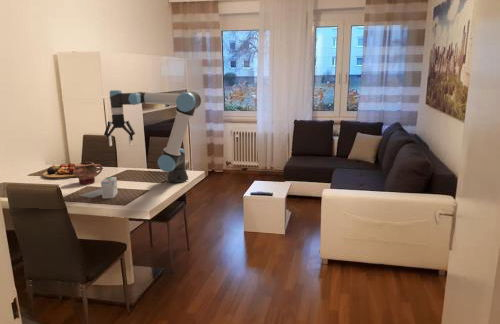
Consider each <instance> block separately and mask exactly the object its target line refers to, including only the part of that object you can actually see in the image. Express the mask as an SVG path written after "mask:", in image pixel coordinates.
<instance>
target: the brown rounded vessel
mask: <svg viewBox="0 0 500 324" xmlns="http://www.w3.org/2000/svg"><path fill="white" fill-rule="evenodd" d="M97 168H100V170H99V171H98V169H97ZM97 171H98V172H97ZM102 171H103V166H102V165H101V164H99V163H98V164H97V163H96V164H95V163H94V162H90V161H89V162H85V161H84V162H81V163H78V164H75V169H74V171H73V174H74V175H75V176H77V177H76V178H78V183H79V184H80V185H90V184H94V183H95V181H96V180H95V179H96V178H95V177H98V176H99V175H100V174H101V172H102Z"/></svg>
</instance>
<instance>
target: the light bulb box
mask: <svg viewBox="0 0 500 324" xmlns="http://www.w3.org/2000/svg"><path fill="white" fill-rule="evenodd" d="M100 185H101V186H100V187H101V188H102V195H101V197H102V199H114V198H115V197H116V196H117V194H118V193H119V192H118V182H117V176H108V177H104V179H102V180H101V181H100ZM101 188H100V189H101Z"/></svg>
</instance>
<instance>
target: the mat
mask: <svg viewBox="0 0 500 324" xmlns="http://www.w3.org/2000/svg"><path fill="white" fill-rule="evenodd" d="M81 196H82V198H88V199H94V198H96V197H99V196H102V188H98V189H95V190H93V191H89V192H86V193H83V194H81V195H78V197H81Z"/></svg>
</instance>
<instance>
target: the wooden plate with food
mask: <svg viewBox="0 0 500 324" xmlns="http://www.w3.org/2000/svg"><path fill="white" fill-rule="evenodd" d="M75 166H76V164H75V163H71V162H70V163H68V164H65V163H61V164H59V166H58V165H56V164H53V165H50V166H49V167H48V168H47V169H46V172H43V173H42V174H41V175H42V177H43V178H44V179H47V180H49V179H50V180H63V179H70V178H71V179H72V178H73V179H74V178H78V177H77V176H75V175H74V174H73V171H74V169H75Z"/></svg>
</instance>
